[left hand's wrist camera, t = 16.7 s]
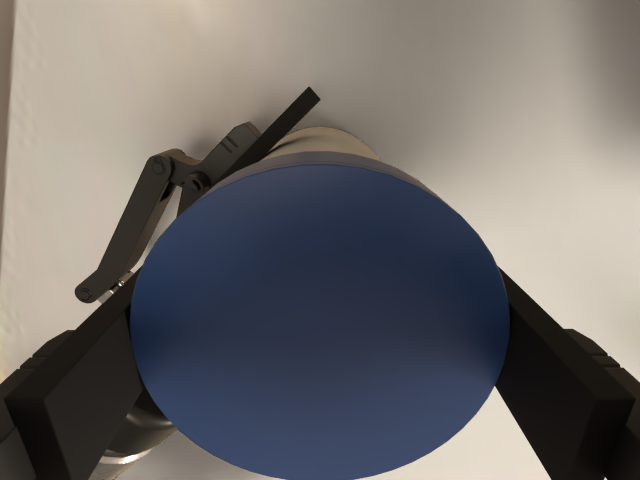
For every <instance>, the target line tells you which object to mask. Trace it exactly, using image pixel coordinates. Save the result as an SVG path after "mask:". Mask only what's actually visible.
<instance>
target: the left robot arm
mask: <svg viewBox="0 0 640 480" xmlns="http://www.w3.org/2000/svg"><path fill="white" fill-rule="evenodd" d="M142 266H143V265H142ZM142 266H141V267H140V268H139V269H138V270H137V271H136V272H135V273H134V274H133V275H132V276H131V277H130V278H129V279H128V280H127V281H126V282H125V283H124V284H123V285H122V286H121V287H119V288H118V289H117V290H116V291H115V292H114V293H113V294H112V295H111V296H110V297H109V298H108V299H107V300H106V301H105V302H104V303H103V304H102V305H101V306H100V307H99V308H98V309H97V310H95V311H94V312H93V313H92V314H91V315H90V316H89V317H88V318H87V319H86V320H85V321H84V322H83V323H82V324H81V325H80V326H79V327H78V328H77V329H76V330H67V331H65V332H63V333H62V334H60V335H58V336H56V337H55V338H53V339H51V340H49V341H48V342H46V343H45V344H44V345H43V346H42V347H41V348H40V349H39V350H38V351H36V352H35V353H34V354H33V357H32V358H29V359H28V360H26V361H25V362H24V363H23V364H22V365H21V366H20V369H17V370H15V371H14V372H13V373H12V374H11V375H10V376H9V377H8V378H7V379H5V380H4V381H3V382H2V383H1V384H0V480H34V479H36V480H88V479H89V478H90V476H91V474H92V473H93V471H94V469H95V468H96V466H97V464H98V463H99V461H100V459H101V458H102V456H103V454H104V453H105V451H106V449H107V448H108V446H109V444H110V443H111V441H112V439H113V438H114V436H115V434H116V433H117V431H118V429H119V428H120V426H121V425H122V423H123V421H124V420H125V418H126V416H127V415H128V413H129V411H130V410H131V408H132V406H133V405H134V403H135V401H136V400H137V398H138V396H139V395H140V393H141V391H142V390H143V388H144V386H145V385H144V383H143V381H142V378H141V376H140V373H139V371H138V368H137V366H136V362H135V357H134V353H133V349H132V344H131V336H130V324H129V323H130V311H131V300H132V296H133V292H134V288H135V284H136V280H137V278H138V275H139V273H140V271H141V268H142ZM498 269H499V271H500V273H501V275H502V278H503V282H504V285H505V289H506V293H507V296H508V303H509V313H510V334H509V342H508V347H507V351H506V356H505V360H504V364H503V367H502V370H501V373H500V375H499V378H498V380H497V382H496V384H495V387H496V388H497V390H498V392H499V393H500V395H501V397H502V398H503V400H504V402H505V403H506V405H507V407H508V408H509V410H510V412H511V413H512V415H513V417H514V418H515V420H516V422H517V423H518V425H519V427H520V428H521V430H522V432H523V433H524V435H525V437H526V438H527V440H528V442H529V443H530V445H531V446H532V448H533V450H534V451H535V453H536V455H537V456H538V458H539V460H540V461H541V463H542V465H543V466H544V468H545V470H546V471H547V473H548V475H549V476H550V478H551V480H604V478H605V477H606V479H607V480H640V382H639V381H638V380H636V379H635V378H634V377H633V376H632V375H631V374H630V373H629V372H627V371H626V370H625V369H624V368H621V367H620V364H619V363H617V362H616V361H615V360H614V359H613V358H612V357H611V356H608V355H607V353H606V352H605V351H604V350H603V349H602V348H601V347H600V346H599V345H597V344H596V343H595V342H594V341H593V340H591V339H590V338H588V337H586V336H584V335H583V334H581V333H579V332H577V331H575V330H574V329H563V328H562V327H561V326H560V325H559V324H558V323H557V322H556V321H555V320H554V319H553V318H552V317H551V316H549V315H548V314H547V313H546V312H545V311H544V310H543V309H542V308H541V307H540V306H539V305H538V304H537V303H536V302H535V301H534V300H533V299H532V298H531V297H530V296H529V295H528V294H527V293H525V292H524V291H523V290H522V289H521V288H520V287H519V286H518V285H517V284H516V283H515V282H514V281H513V280H512V279H511V278H510V277H509V276H508V275H507V274H506V273H505V272H504V271H503V270H501V269H500V268H499V267H498Z"/></svg>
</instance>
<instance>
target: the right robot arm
mask: <svg viewBox="0 0 640 480" xmlns="http://www.w3.org/2000/svg"><path fill="white" fill-rule="evenodd" d="M319 101H320V98H319V97H318V96H317V95H316V93H315V92H314V91H313V90H312V89H311V88H310V87H308V88H307V89H306V90H305V91H304V92H303V93H302V94H301V95H300V96H299V97H298V98H297V99H296V100H295V101H294V102H293V103H292V104H291V105H290V106H289V107H288V108H287V109H286V111H285V112H284V113H283V114H282V115H281V116H280V117H279V118H278V119H277V120H276V121H275V122H274V123H273V124H272V125H271V126H270V127H269V128H268V129H267V130H266V131H265V132H264V133H263V134H261V133H260V132H259V131H258V130H257V129H256V128H255V127H254V125H253V124H252V123H251V122H250V121H249V122H246V123H244V124H241V125H239V126H237V127H234V128H233V129H232V130H231V131H230V132H229V134H228V135H227V136H226V137H225V138H224V139H223V140H222V141H221V142H220V143H219V144H218V145H217V146H216V147H215V148H214V149H213V150H212V152H211V153H210V154H209V155H208V156H207V157H206V158H205V159H204V160H202V161H199V160H195V159H192V158H190V157H188V156H186V155H185V153H184V152H183V151H182V150H179V149H171V150H168V151H165V152H162V153H159V154H157V155H154V156H152V157H150V158H149V159H148V161H147V162H146V165H145V167H144V169H143V171H142V173H141V176H140V178H139V180H138V182H137V184H136V186H135V189H134V191H133V193H132V195H131V197H130V199H129V202H128V204H127V206H126V208H125V210H124V212H123V215H122V217H121V219H120V221H119V223H118V225H117V228H116V230H115V232H114V234H113V236H112V238H111V241H110V243H109V245H108V247H107V249H106V252H105V254H104V256H103V258H102V260H101V262H100V265H99V267H98V269H97V270H96V271H95V272H94V273H93V274H91V275H90V276H89V277H88V278H87V279H85V280H84V281H83V282H82V283H81V284H79V285H78V286H77V287H76V289H75V295H76V297H77V298H78V299H79V300H80V301H82V302H84V303H92V302H94V301H96V300H98V301H100V302H101V303H102V304H103V303H104V302H105V301H106V300H107V299H108V298H109V297H110V296H111V295H112V294H113V293H114V292H115V291H116V290H117V289H118V288H119V287H121V286H122V285H123V284H124V283H125V282H126V281H127V280H128V279H129V278H130V277H131V276H132V275H133V274H134V273H133V272H131V271H130V270H131V269H132V268H133V267H134V266H135V265H136V263H137V262H138V261H139V259H140V257H141V256H142V254H143V252H144V250H145V248H146V246H147V244H148V242H149V240H150V238H151V236H152V234H153V232H154V230H155V228H156V226H157V224H158V222H159V220H160V218H161V216H162V214H163V212H164V210H165V208H166V206H167V204H168V202H169V200H170V198H171V196H172V194H173V192H174V190H175V188H176V186H177V185H178V186H180V187H182V193H181V198H180V203H179V207H178V212H177V217H178V216H180V215H181V214H182V213H183V212H184V211H185V210H187V209H188V208H189V207H190V206H191V205H192V204H194V203H195V202H196V201H197V200H198V199H199V198H201V197H202V196H203V195H204V194H205V193H207V192H208V191H209V190H210V189H211V188H212V187H214V186H215V185H216V184H217V183H219V182H220V181H222V180H224V179H225V178H227V177H228V176H230V175H232V174H233V173H235V172H236V171H238V170H241V169H243V168H245V167H247V166H250V165H252V164H254V163H256V162H259V161H260V160H261V159H262V158H263V157H264V156H265V155H266V154H267V153H268V152H269V151H270V150H271V149H272V148H273V147H274V146H275V145H276V144H277V143H278V142H279V141H280V140H281V139H282V138H283V137H284V136H285V135H286V134H287V133H288V132H289V131H290V130H291V129H292V128H293V127H294V126H295V125H296V124H297V123H298V122H299V121H300V120H301V119H302V118H303V117H304V116H305V115H306V114H307V113H308V112H309V111H310V110H311V109H312V108H313V107H314V106H315V105H316V104H317V103H318V102H319ZM177 217H176V218H177ZM175 430H177V428H176V427H175V426H174V425H173V424H172V423H171V422H170V420H169V419H168V418H167V417H166V416H165V415H164V414H163V412H162V411H161V410H160V408H159V407H158V406H157V405H156V403H155V402H154V401H153V399H152V397H151V395H150V394H149V392H148V390H147V388H146V387H145V386H144V388H143V390H142V391H141V393H140V395H139V396H138V398H137V400H136V401H135V403H134V405H133V406H132V408H131V410H130V411H129V413H128V415H127V416H126V418H125V420H124V421H123V423H122V425H121V426H120V428H119V429H118V431H117V433H116V434H115V436H114V438H113V439H112V441H111V443H110V444H109V446H108V448H107V449H106V451H105V453H104V454H103V456H102V458H101V459H100V461H99V463H98V464H97V466H96V468H95V469H94V471H93V473H92V474H91V476H90V478H89V479H88V480H114V479H115V478H116V477H118V476H119V475H120V474H121V473H122V472H124V471H125V470H126V469H128V468H129V467H130V466H132V465H133V464H134V463H136V462H137V461H138V460H140V459H141V458H142V457H144V456H145V455H146V454H147V453H149V452H150V451H151V450H152V449H153V448H154V447H155V446H156V445H158V444H159V443H160V442H162V441H163V440H164V439H165V438H167V437H168V436H169V435H170V434H172V433H173V432H174V431H175ZM34 480H36V479H34Z"/></svg>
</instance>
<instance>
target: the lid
mask: <svg viewBox="0 0 640 480" xmlns="http://www.w3.org/2000/svg"><path fill="white" fill-rule="evenodd" d="M129 324H130V336H131V344H132V349H133V353H134V357H135V362H136V366H137V368H138V371H139V373H140V376H141V378H142V381H143V383H144V385H145V387H146V388H147V390H148V392H149V394H150V395H151V397H152V399H153V401H154V402H155V403H156V405H157V406H158V407H159V408H160V410H161V411H162V412H163V414H164V415H165V416H166V417H167V418H168V419H169V420H170V422H171V423H172V424H173V425H174V426H175V427H176V428H177V429H178V430H179V431H180V432H182V433H183V434H184V435H185V436H187V437H188V438H189V439H190V440H192V441H193V442H194V443H195V444H197V445H198V446H200V447H201V448H203V449H205V450H206V451H208V452H209V453H211V454H212V455H214V456H216V457H218V458H220V459H222V460H224V461H226V462H228V463H230V464H233V465H235V466H238V467H240V468H243V469H246V470H248V471H251V472H255V473H258V474H262V475H266V476H269V477H274V478H280V479H286V480H355V479H360V478H365V477H370V476H374V475H378V474H381V473H385V472H388V471H391V470H394V469H397V468H399V467H402V466H404V465H407V464H409V463H412V462H414V461H416V460H417V459H419V458H421V457H423V456H425V455H427V454H429V453H431V452H432V451H434V450H435V449H437V448H438V447H440V446H441V445H443V444H444V443H446V442H447V441H448V440H449V439H451V438H452V437H453V436H454V435H455V434H457V433H458V432H459V431H460V430H461V429H463V427H464V426H465V425H466V424H467V423H468V422H469V421H470V420H471V419H472V418H473V417H474V416H475V415H476V414H477V412H478V411H479V409H480V408H481V407H482V405H483V404H484V403H485V401H486V400H487V398H488V397H489V395H490V393H491V391H492V390H493V388H494V386H495V384H496V382H497V380H498V378H499V375H500V373H501V370H502V367H503V364H504V360H505V356H506V351H507V347H508V342H509V334H510V313H509V303H508V296H507V293H506V289H505V285H504V282H503V278H502V275H501V273H500V271H499V269H498V266H497V264H496V262H495V260H494V258H493V256H492V254H491V252H490V251H489V249H488V248H487V246H486V245H485V243H484V242H483V240H482V239H481V238H480V236H479V235H478V233H477V232H476V231H475V230H474V229H473V228H472V227H471V226H470V225H469V224H468V223H467V222H466V221H465V219H464V218H463V217H462V216H461V215H460V214H458V213H457V212H456V211H455V210H454V209H452V208H451V207H450V206H449V205H448V204H447V203H445V202H444V201H443V200H442V199H441V198H440V197H438V196H437V195H436V194H435V193H434V192H432V191H431V190H430V189H428V188H427V187H426V186H425V185H423V184H422V183H421V182H420V181H418V180H417V179H415V178H413V177H412V176H410V175H408V174H406V173H405V172H403V171H401V170H400V169H397V168H395V167H393V166H390V165H388V164H385V163H383V162H381V161H378V160H375V159H371V158H367V157H363V156H359V155H356V154H349V153H341V152H333V151H305V152H298V153H291V154H285V155H280V156H276V157H273V158H269V159H266V160H262V161H259V162H256V163H254V164H252V165H250V166H247V167H245V168H243V169H241V170H238V171H236V172H235V173H233V174H232V175H230V176H228V177H227V178H225V179H224V180H222V181H220V182H219V183H217V184H216V185H215V186H214V187H212V188H211V189H210V190H209V191H208V192H207V193H205V194H204V195H203V196H202V197H201V198H199V199H198V200H197V201H196V202H195V203H194V204H192V205H191V206H190V207H189V208H188V209H187V210H185V211H184V212H183V213H182V214H181V215H180V216H178V217H177V218H176V219H175V220H174V221H173V222H172V223H171V225H170V226H169V227H168V228H167V229H166V230H165V231H164V233H163V234H162V235H161V236H160V237H159V238H158V240H157V241H156V243H155V245H154V246H153V248H152V249H151V251H150V253H149V254H148V256H147V257H146V259H145V261H144V264H143V266H142V268H141V271H140V273H139V275H138V278H137V280H136V284H135V288H134V292H133V296H132V300H131V311H130V323H129Z"/></svg>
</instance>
